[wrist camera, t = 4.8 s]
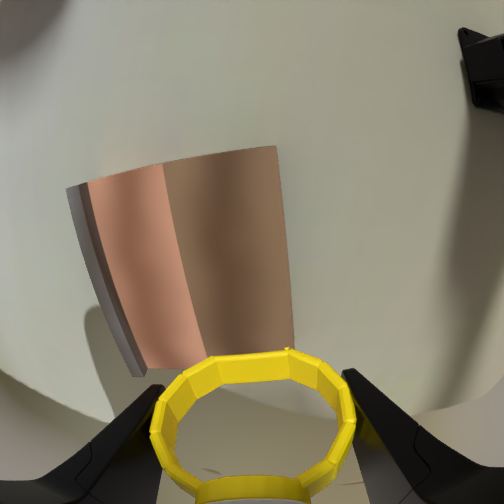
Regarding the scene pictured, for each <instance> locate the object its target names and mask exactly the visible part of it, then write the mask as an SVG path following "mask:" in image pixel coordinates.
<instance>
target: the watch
mask: <svg viewBox="0 0 504 504" xmlns="http://www.w3.org/2000/svg"><path fill="white" fill-rule="evenodd" d="M284 349H285V350H281V351H271V352H262V353H252V354H240V355H225V356H211V357H209V358H207V359H205V360H203V361H202V362H200V363H198V364H196V365H194V366H192V367H191V368H189V369H187V370H185V371H183V373H182V374H179V375H178V376H177V378H176V379H175V380H174V381H173V382H172V383H171V384H170V386H169V387H168V388H167V389H166V390H165V391H164V392H163V393H162V395H161V396H160V397H159V401H157V402H156V404H155V408H154V413H153V417H152V421H151V425H150V430H149V432H150V433H151V435H150V440H151V442H152V445H153V447H154V450H155V452H156V455H157V457H158V460H159V462H160V464H161V467H162V468H163V469H164V470H165V472H166V473H167V474H168V475H169V476H170V477H171V479H172V480H173V481H174V482H175V483H176V484H177V485H178V486H179V487H180V488H181V489H182V490H184V491H185V492H187V493H188V494H190V495H192V496H193V497H195V498H196V500H195V504H311V501H310V497H312V496H314V495H315V494H316V493H318V492H320V491H321V490H322V489H324V488H325V487H327V486H328V485H330V483H331V480H333V479H335V478H336V476H337V474H338V472H339V470H340V468H341V466H342V465H343V463H344V460H345V458H346V456H347V454H348V452H349V450H350V447H351V445H352V441H353V437H354V432H355V428H356V421H357V419H356V413H355V408H354V403H353V400H352V397H351V394H350V390H349V388H348V385H347V382H346V381H345V380H344V379H343V378H342V377H341V376H340V375H339V374H338V373H337V372H336V371H335V370H334V369H333V368H332V367H331V366H330V365H329V364H328V363H326V362H323V360H321V359H318V358H316V357H313V356H310V355H307V354H305V353H302V352H299V351H297V350H294V349H290V350H289V347H286V348H284ZM284 379H292V380H294V381H296V382H299V383H301V384H303V385H306V386H308V387H310V388H313V389H315V390H317V391H318V392H319V393H320V394H321V395H322V397H323V398H324V399H325V400H326V401H327V402H328V404H329V405H330V406H331V407H332V408H333V409H334V410H335V412H336V414H337V422H338V430H339V432H338V434H337V436H336V438H335V440H334V442H333V444H332V446H331V448H330V450H329V452H328V454H327V456H326V457H325V459H324V460H322V461H321V462H319V463H318V464H316V465H315V466H313V467H312V468H310V469H309V470H307V471H306V472H304V473H302V474H301V475H299V476H298V477H296V478H295V479H292V478H287V477H282V476H269V475H244V476H243V475H242V476H231V477H223V478H218V479H213V480H210V481H207V482H205V483H203V482H202V481H201V480H199V479H197V478H196V477H194V476H192V475H191V474H189V473H188V472H186V471H185V470H183V469H182V467H181V465H180V463H179V461H178V459H177V457H176V455H175V453H174V449H175V442H176V435H177V428H178V422H180V420H181V419H182V418H183V416H184V415H185V414H186V413H187V411H188V410H189V409H190V407H191V406H192V405H193V403H194V402H195V401H196V399H198V398H200V397H202V396H204V395H205V394H207V393H209V392H210V391H212V390H214V389H216V388H217V387H219V386H221V385H222V384H236V383H252V382H264V381H275V380H284Z"/></svg>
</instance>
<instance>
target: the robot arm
mask: <svg viewBox="0 0 504 504" xmlns="http://www.w3.org/2000/svg"><path fill="white" fill-rule="evenodd" d="M458 33H459V36H460V40H461V44H462V48H463V52H464V56H465V61H466V65H467V70H468V75H469V81H470V87H471V93H472V100H473V104H474V106H475V107H476V108H478V109H483V110H487V111H492V112H496V113H500V114H504V34H500V35H496V36H493V37H487V36H485V35H483V34H480V33H478V32H475V31H472V30H470V29H467V28H464V27H462V28H460V29H459V30H458ZM464 33H465V34H464ZM478 100H479V103H478ZM341 377H342V378H343V379H344V380H345V381H346V382H347V385H348V388H349V390H350V394H351V397H352V400H353V403H354V408H355V413H356V419H357V421H356V428H355V432H354V437H353V441H352V444H353V448H354V451H355V454H356V457H357V460H358V463H359V467H360V470H361V474H362V477H363V480H364V484H365V487H366V491H367V494H368V497H369V501H370V504H504V467H487V466H483V465H480V464H477V463H475V462H473V461H471V460H470V459H468V458H466V457H465V456H463V455H461V454H460V453H458V452H457V451H455V450H453V449H451V448H450V447H449V446H447V445H446V444H444V443H442V442H441V441H440V440H438V439H437V438H435V437H434V436H433V435H432V434H430V433H429V432H428V431H426V430H425V429H424V428H423V427H422V426H421V425H419V424H418V423H417V422H416V421H415V420H413V419H412V418H411V417H410V416H409V415H408V414H407V413H405V412H404V411H403V410H402V409H401V408H400V407H398V406H397V405H396V404H395V403H394V402H393V401H391V400H390V399H389V398H388V397H387V396H386V395H384V394H383V393H382V392H381V391H380V390H379V389H378V388H376V387H375V386H374V385H373V384H372V383H371V382H370V381H368V380H367V379H366V378H365V377H364V376H363V375H362V374H360V373H359V372H358V371H357V370H356V369H354V368H350V369H345V370H343V371H342V374H341ZM165 390H166V389H165V387H164V386H163V385H161V384H160V385H159V384H153V385H151V386H150V387H149V388H148V389H147V390H146V391H144V392H143V393H142V394H141V395H140V396H139V397H138V398H137V399H136V400H135V401H134V402H133V403H132V404H130V405H129V406H128V407H127V408H126V409H125V410H124V411H123V412H122V413H121V414H120V415H119V416H117V417H116V418H115V419H114V420H113V421H112V422H111V423H110V424H109V425H107V426H106V427H105V428H104V429H103V430H102V431H101V432H100V433H99V434H98V435H96V436H95V437H94V438H93V439H92V440H91V442H88V443H87V444H86V445H85V446H84V447H83V448H82V449H81V450H79V451H78V452H77V453H76V454H74V455H73V456H72V457H70V458H69V459H68V460H66V461H65V462H64V463H62V464H61V465H59V466H58V467H56V468H55V469H53V470H52V471H50V472H49V473H48V474H46V475H44V476H43V477H41V478H38V479H35V480H28V481H4V480H0V504H156V501H157V495H158V489H159V484H160V479H161V474H162V469H163V468H162V467H161V464H160V462H159V460H158V457H157V455H156V452H155V450H154V447H153V445H152V442H151V440H150V435H151V433H150V432H149V430H150V425H151V421H152V417H153V413H154V408H155V404H156V402H157V401H159V397H160V396H161V395H162V393H163V392H164V391H165Z"/></svg>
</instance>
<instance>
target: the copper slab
mask: <svg viewBox="0 0 504 504" xmlns="http://www.w3.org/2000/svg"><path fill="white" fill-rule="evenodd" d="M66 192H67V197H68V201H69V206H70V210H71V214H72V218H73V222H74V226H75V230H76V233H77V237H78V241H79V244H80V247H81V251H82V254H83V257H84V260H85V264H86V267H87V270H88V273H89V276H90V279H91V281H92V284H93V287H94V290H95V293H96V295H97V298H98V301H99V303H100V306H101V308H102V311H103V313H104V316H105V318H106V320H107V323H108V325H109V328H110V330H111V332H112V335H113V337H114V339H115V341H116V344H117V346H118V348H119V350H120V352H121V354H122V356H123V358H124V361H125V363H126V364H127V367H128V369H129V370H130V373H131V375H132V377H144V376H145V374H146V372H147V369H148V368H149V369H189V368H191V367H192V366H194V365H196V364H198V363H200V362H202V361H203V360H205V359H207V358H209V357H211V356H225V355H240V354H252V353H262V352H271V351H281V350H285V349H284V348H286V347H289V350H290V349H294V350H295V345H294V329H293V314H292V300H291V287H290V275H289V263H288V252H287V241H286V230H285V220H284V210H283V201H282V191H281V182H280V173H279V165H278V156H277V148H276V146H267V147H258V148H250V149H242V150H235V151H228V152H221V153H215V154H209V155H203V156H197V157H191V158H186V159H181V160H175V161H170V162H165V163H161V164H156V165H151V166H147V167H142V168H138V169H134V170H130V171H126V172H122V173H118V174H114V175H110V176H106V177H102V178H99V179H96V180H93V181H89V182H86V183H83V184H79V185H76V186H73V187H70V188H67V189H66Z"/></svg>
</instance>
